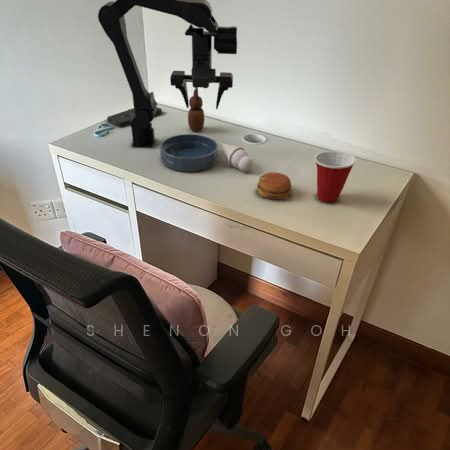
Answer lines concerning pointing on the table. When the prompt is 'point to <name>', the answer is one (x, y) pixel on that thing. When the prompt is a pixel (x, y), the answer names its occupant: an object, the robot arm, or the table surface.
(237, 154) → the ice cream cone
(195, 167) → the bowl
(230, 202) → the table surface
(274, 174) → the burger
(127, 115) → the smart home device
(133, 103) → the robot arm
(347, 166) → the plastic cup
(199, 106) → the wooden figurine
